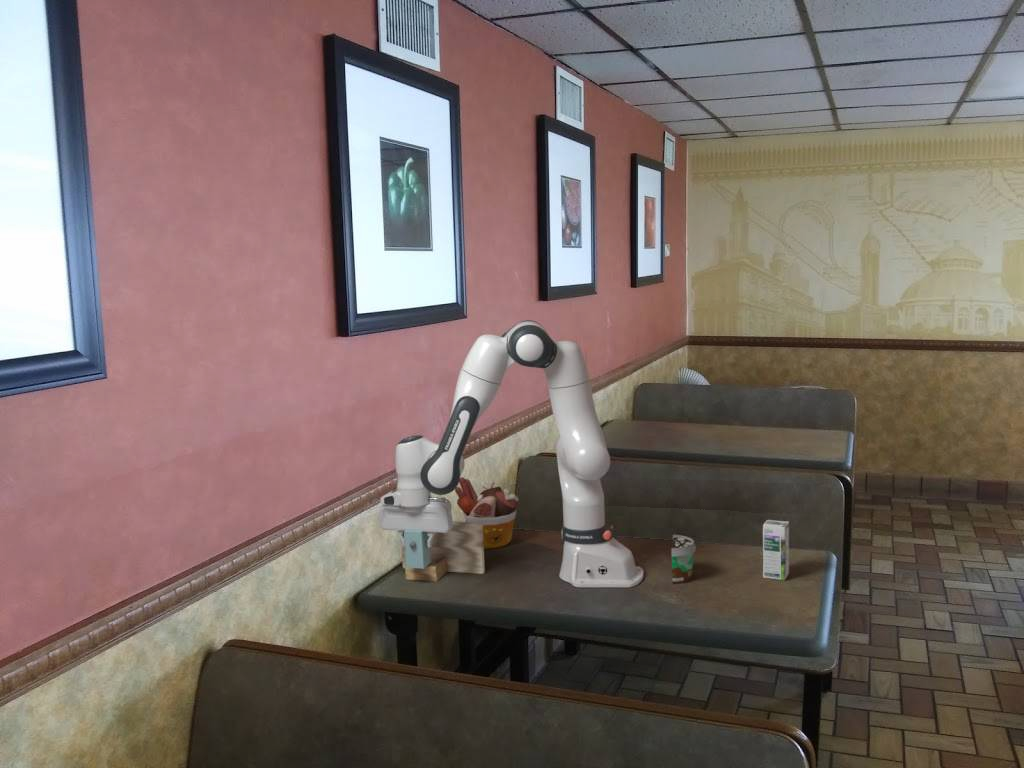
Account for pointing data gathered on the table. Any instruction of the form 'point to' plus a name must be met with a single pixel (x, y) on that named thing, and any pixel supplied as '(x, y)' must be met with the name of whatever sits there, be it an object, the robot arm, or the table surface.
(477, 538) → the cleat board
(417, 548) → the cabinet block
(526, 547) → the table surface
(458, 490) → the bucket of meat
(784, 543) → the syrup box
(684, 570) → the food container
